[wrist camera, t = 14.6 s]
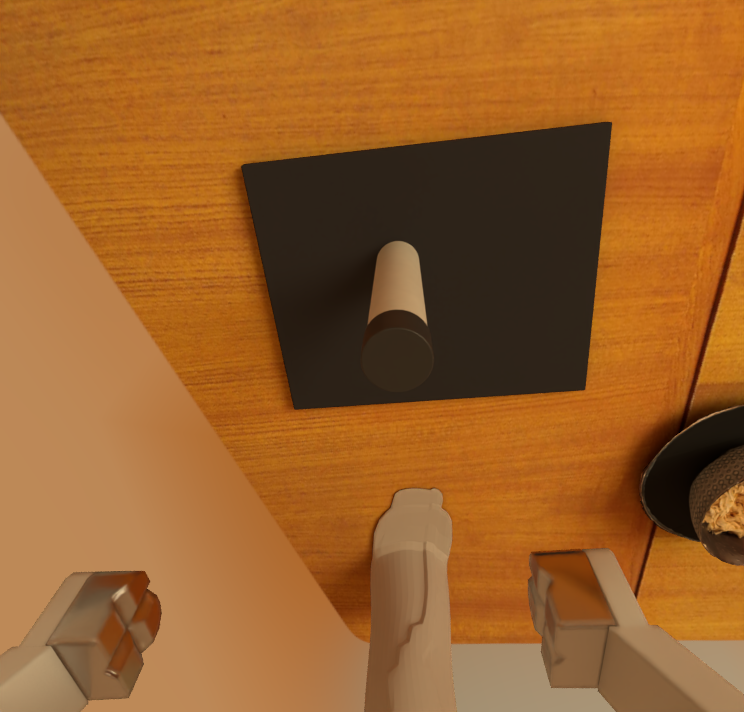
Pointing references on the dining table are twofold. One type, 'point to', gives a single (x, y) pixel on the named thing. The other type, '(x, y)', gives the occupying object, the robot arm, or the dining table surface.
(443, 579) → the candle
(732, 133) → the dining table surface
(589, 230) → the mat
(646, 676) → the robot arm
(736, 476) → the soup bowl
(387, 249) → the marker
